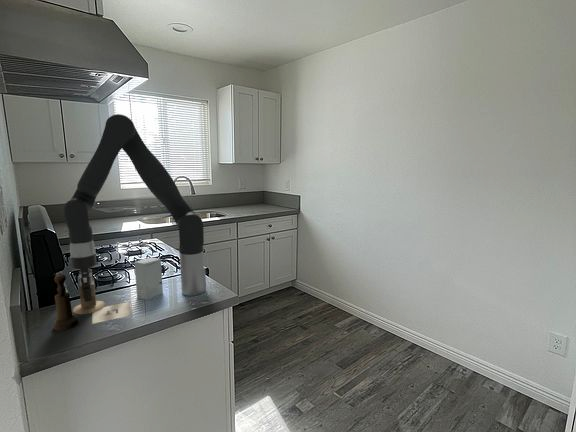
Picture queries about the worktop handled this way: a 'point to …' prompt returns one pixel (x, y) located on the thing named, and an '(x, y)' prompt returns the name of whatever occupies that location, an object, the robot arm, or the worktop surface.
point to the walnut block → (93, 301)
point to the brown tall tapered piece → (63, 307)
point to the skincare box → (148, 278)
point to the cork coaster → (89, 308)
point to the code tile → (111, 312)
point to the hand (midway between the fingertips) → (88, 298)
